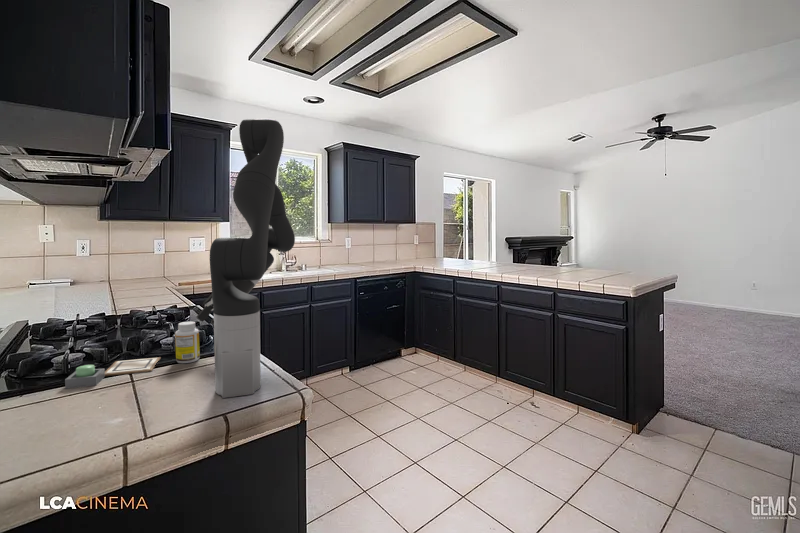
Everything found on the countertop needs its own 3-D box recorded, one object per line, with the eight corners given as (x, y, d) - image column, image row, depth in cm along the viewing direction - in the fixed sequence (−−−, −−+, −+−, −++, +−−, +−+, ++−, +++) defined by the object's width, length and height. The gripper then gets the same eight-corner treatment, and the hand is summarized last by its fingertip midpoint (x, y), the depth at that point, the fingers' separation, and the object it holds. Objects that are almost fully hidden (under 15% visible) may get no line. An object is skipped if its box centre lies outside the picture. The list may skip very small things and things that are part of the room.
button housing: (96, 385, 82) (95, 376, 82) (65, 388, 80) (64, 379, 80) (105, 376, 87) (104, 368, 87) (76, 379, 85) (75, 371, 85)
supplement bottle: (190, 356, 103) (189, 319, 102) (204, 358, 100) (203, 321, 100) (170, 362, 97) (169, 324, 97) (185, 365, 95) (184, 326, 94)
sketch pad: (151, 371, 91) (151, 369, 91) (101, 376, 87) (101, 374, 87) (160, 358, 100) (160, 356, 100) (115, 362, 96) (115, 360, 96)
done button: (91, 378, 82) (91, 368, 82) (73, 380, 81) (73, 370, 81) (97, 373, 85) (96, 364, 85) (79, 375, 84) (79, 365, 84)
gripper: (223, 267, 112) (184, 310, 104) (249, 271, 103) (208, 318, 95) (240, 283, 117) (204, 325, 109) (266, 288, 108) (228, 334, 100)
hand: (206, 322), depth 102 cm, fingers open, 8 cm apart
